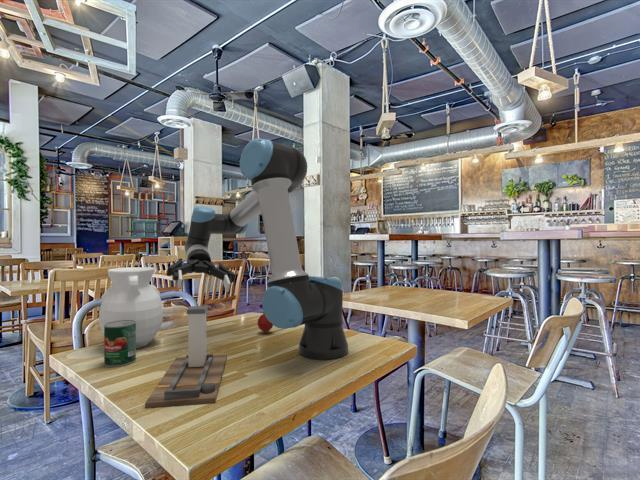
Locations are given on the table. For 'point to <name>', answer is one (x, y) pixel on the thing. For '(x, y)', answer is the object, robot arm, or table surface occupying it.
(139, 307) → the pitcher
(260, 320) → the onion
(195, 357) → the grey rectangular block
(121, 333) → the canned tomato
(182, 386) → the brown board with rails
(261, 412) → the table surface
